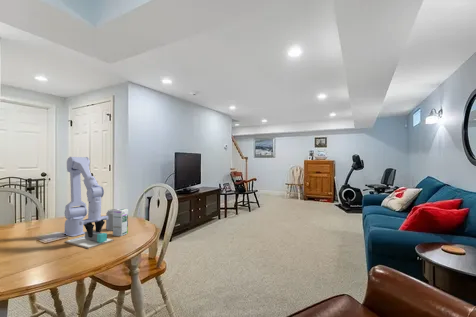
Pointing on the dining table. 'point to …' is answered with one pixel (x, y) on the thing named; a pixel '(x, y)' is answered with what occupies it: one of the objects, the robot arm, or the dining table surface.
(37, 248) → the dining table surface
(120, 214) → the syrup box
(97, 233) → the grey teal rectangular block
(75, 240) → the notepad
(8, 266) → the dining table surface
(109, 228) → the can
